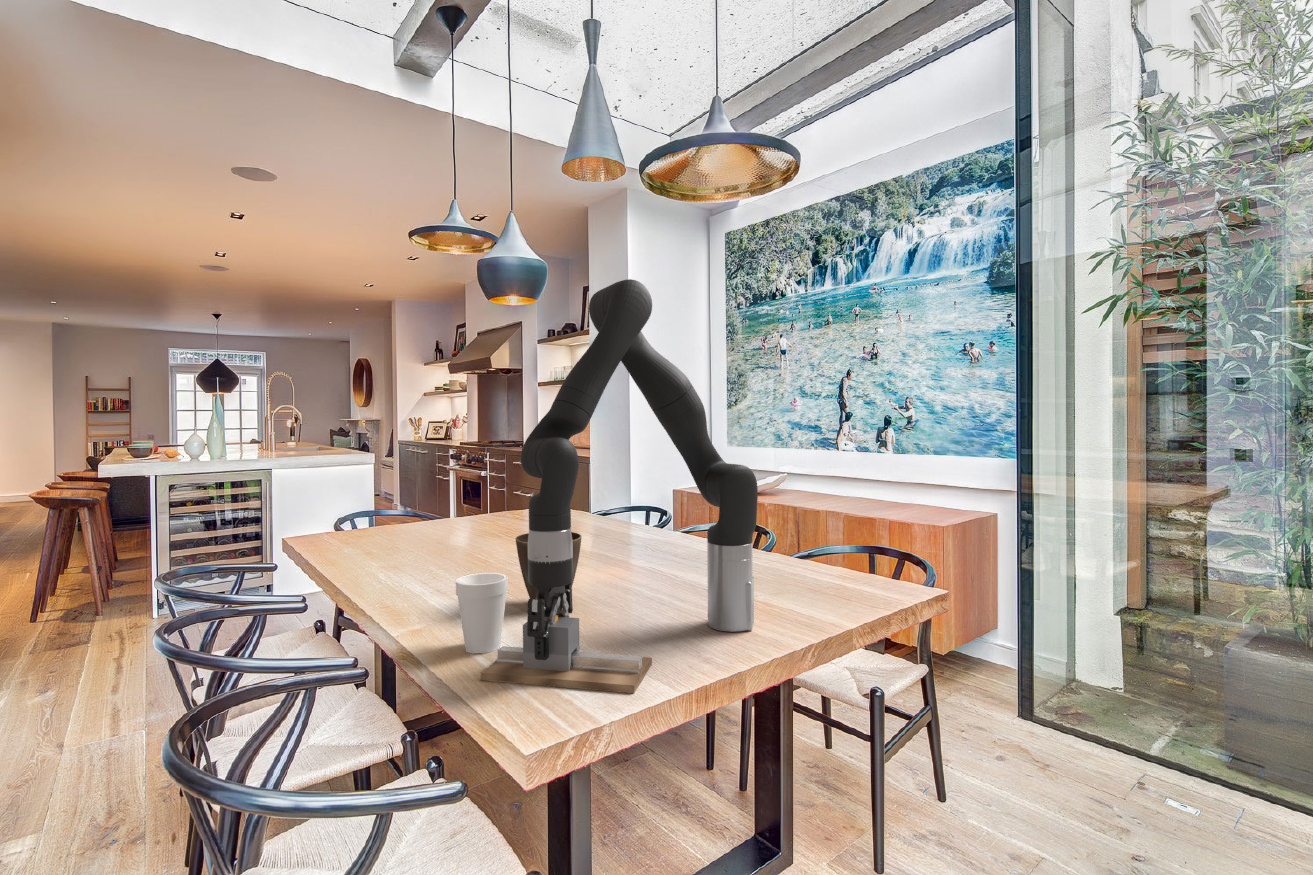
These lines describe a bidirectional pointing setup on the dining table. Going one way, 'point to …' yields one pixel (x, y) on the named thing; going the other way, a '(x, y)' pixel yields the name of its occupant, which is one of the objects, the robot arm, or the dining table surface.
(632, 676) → the board
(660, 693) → the dining table surface
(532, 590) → the plant pot
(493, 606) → the foam cup
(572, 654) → the rail
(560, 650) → the block
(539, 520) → the robot arm
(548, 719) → the dining table surface
